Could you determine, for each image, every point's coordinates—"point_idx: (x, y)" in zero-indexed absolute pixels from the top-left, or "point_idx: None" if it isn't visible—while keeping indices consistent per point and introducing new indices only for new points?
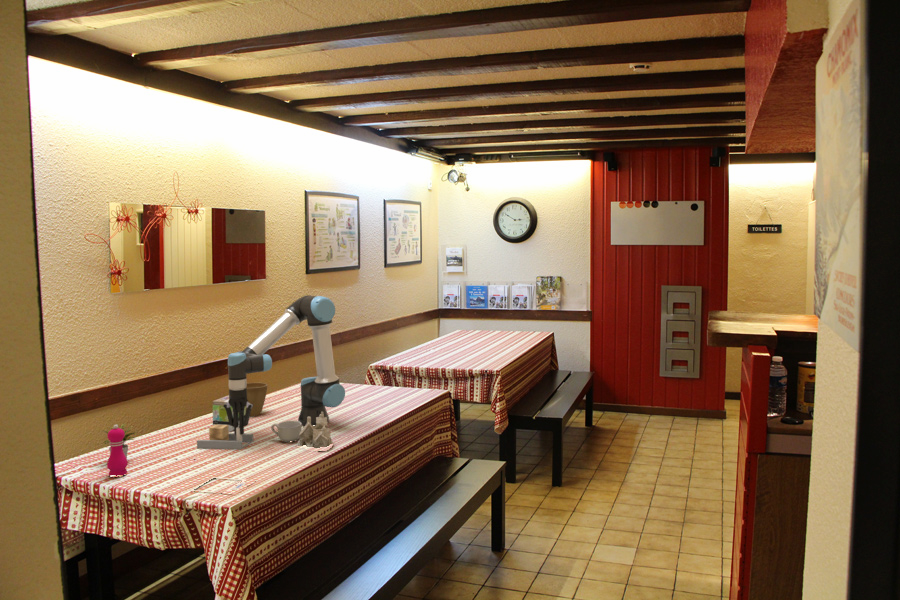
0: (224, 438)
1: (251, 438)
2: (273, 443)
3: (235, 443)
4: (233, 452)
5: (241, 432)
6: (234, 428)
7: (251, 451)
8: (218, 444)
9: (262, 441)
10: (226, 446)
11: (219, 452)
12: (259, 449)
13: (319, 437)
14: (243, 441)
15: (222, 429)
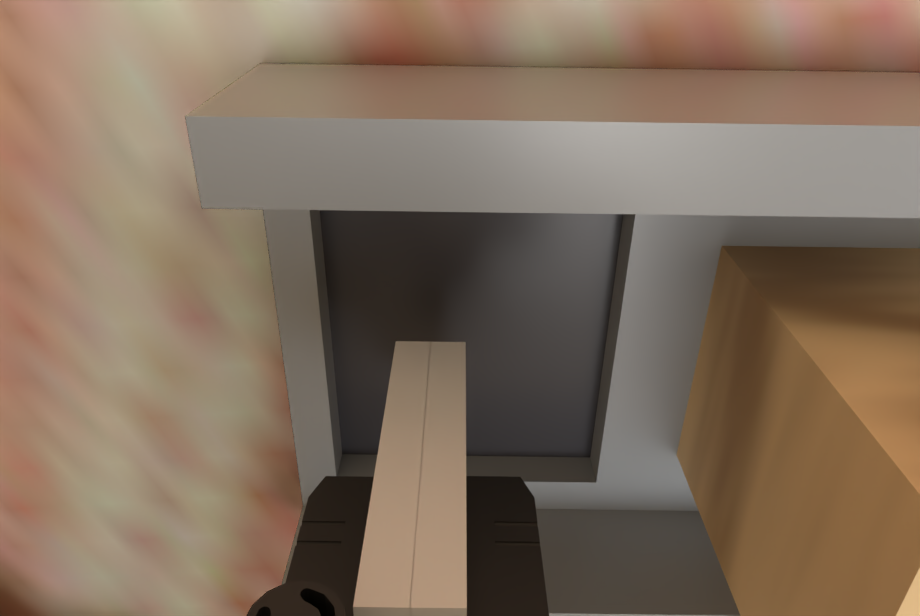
0: (753, 398)
1: None
2: (37, 536)
3: (356, 109)
4: (416, 37)
5: (335, 513)
6: (540, 607)
7: (94, 135)
8: (810, 106)
9: (249, 595)
10: (593, 92)
11: (713, 11)
12: (33, 262)
13: None
14: None
15: (908, 508)
